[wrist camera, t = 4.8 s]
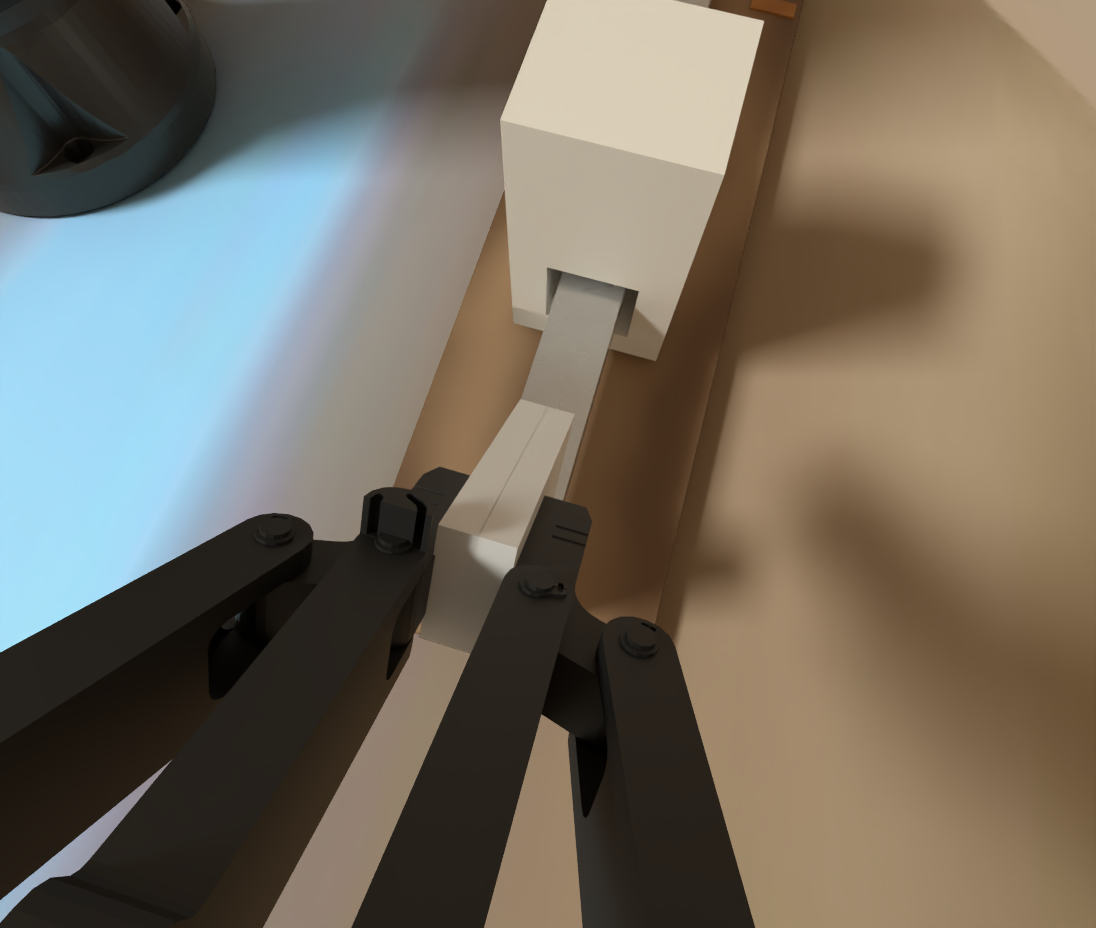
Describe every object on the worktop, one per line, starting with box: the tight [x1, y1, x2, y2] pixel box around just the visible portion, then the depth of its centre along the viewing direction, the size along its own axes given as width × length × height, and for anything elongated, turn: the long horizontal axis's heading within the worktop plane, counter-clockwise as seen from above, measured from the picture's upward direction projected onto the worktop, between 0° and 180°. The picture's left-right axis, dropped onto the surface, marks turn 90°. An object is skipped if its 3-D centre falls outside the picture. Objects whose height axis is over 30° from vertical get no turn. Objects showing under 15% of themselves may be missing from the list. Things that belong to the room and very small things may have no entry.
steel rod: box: [521, 0, 712, 501], centre depth 31 cm, size 3×42×3 cm, turn 164°
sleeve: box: [500, 0, 764, 361], centre depth 26 cm, size 7×6×12 cm
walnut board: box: [393, 0, 803, 634], centre depth 31 cm, size 12×46×8 cm, turn 164°
